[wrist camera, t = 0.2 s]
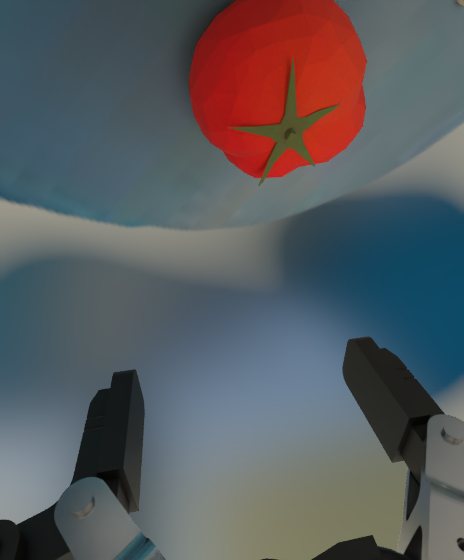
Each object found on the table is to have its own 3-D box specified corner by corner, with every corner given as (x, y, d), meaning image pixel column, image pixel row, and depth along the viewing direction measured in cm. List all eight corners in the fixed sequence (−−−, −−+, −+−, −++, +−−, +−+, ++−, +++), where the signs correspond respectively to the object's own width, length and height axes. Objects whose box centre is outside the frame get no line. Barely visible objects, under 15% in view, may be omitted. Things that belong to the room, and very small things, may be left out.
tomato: (168, 105, 35) (177, 187, 26) (212, -75, 25) (248, -36, 17) (296, 145, 41) (336, 222, 33) (371, 12, 31) (455, 73, 23)
